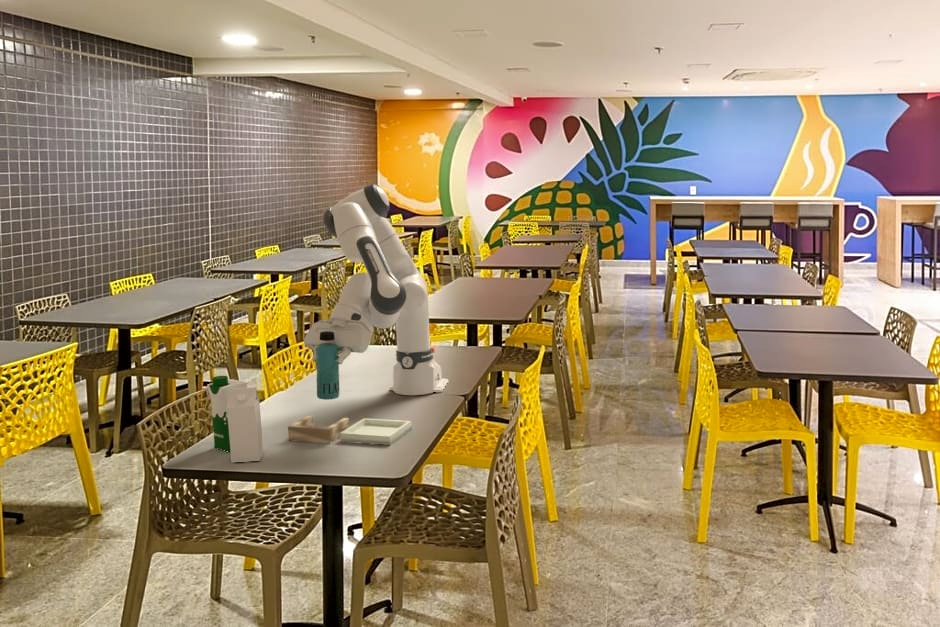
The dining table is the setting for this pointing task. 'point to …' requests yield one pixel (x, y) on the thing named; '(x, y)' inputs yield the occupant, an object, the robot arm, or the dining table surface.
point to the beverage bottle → (327, 368)
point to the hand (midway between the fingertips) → (326, 362)
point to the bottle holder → (316, 431)
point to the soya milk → (221, 408)
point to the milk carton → (244, 425)
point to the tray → (376, 431)
